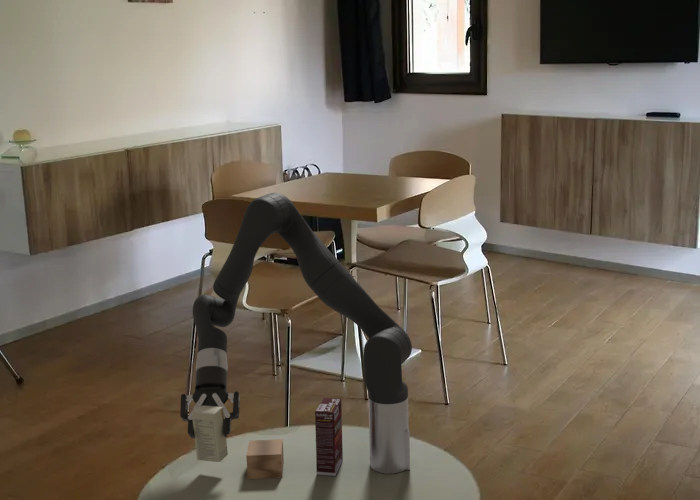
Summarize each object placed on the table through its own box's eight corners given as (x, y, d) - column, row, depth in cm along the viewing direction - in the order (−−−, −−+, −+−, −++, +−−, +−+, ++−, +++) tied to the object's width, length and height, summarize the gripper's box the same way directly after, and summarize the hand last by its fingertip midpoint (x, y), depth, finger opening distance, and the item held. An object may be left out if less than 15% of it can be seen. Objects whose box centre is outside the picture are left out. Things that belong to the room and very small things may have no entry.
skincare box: (228, 455, 206) (224, 406, 203) (219, 463, 202) (216, 413, 200) (204, 452, 208) (200, 403, 206) (195, 460, 204) (191, 411, 202)
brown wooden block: (283, 462, 210) (282, 439, 209) (282, 478, 203) (281, 454, 201) (250, 463, 210) (249, 440, 209) (247, 479, 202) (246, 455, 201)
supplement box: (336, 476, 202) (334, 412, 199) (316, 475, 203) (313, 411, 200) (344, 460, 210) (342, 398, 207) (324, 458, 211) (322, 397, 208)
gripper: (179, 365, 208) (175, 432, 199) (239, 363, 208) (238, 429, 199) (184, 378, 214) (180, 443, 205) (243, 376, 215) (241, 440, 206)
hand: (209, 436), depth 202 cm, fingers closed on skincare box, 7 cm apart
